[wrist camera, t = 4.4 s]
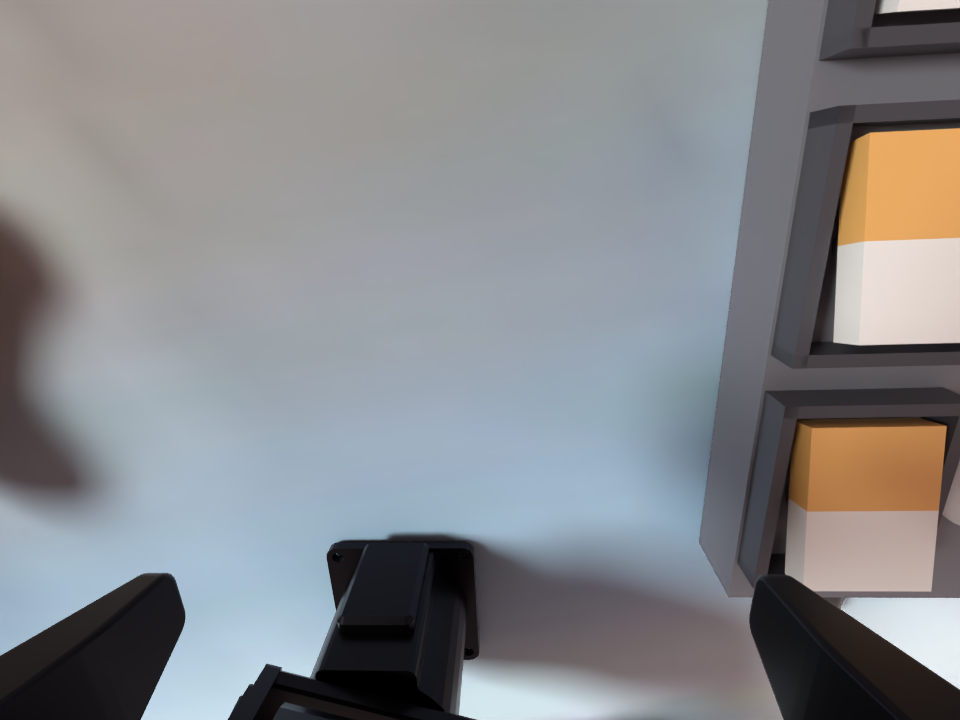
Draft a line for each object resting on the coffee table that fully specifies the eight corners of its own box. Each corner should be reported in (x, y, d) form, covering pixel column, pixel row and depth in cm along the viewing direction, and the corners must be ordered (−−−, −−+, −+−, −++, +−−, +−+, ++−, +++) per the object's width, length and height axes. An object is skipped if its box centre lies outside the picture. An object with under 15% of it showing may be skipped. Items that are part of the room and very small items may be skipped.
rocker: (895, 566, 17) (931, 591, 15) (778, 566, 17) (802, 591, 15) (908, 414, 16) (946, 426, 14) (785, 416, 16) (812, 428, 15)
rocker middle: (965, 337, 14) (1016, 341, 12) (823, 341, 14) (859, 345, 13) (980, 143, 13) (1035, 124, 12) (832, 150, 13) (870, 132, 12)
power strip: (923, 597, 22) (1016, 688, 18) (692, 596, 22) (732, 685, 18) (1226, -326, 12) (1575, -572, 8) (805, -286, 13) (941, -497, 9)
